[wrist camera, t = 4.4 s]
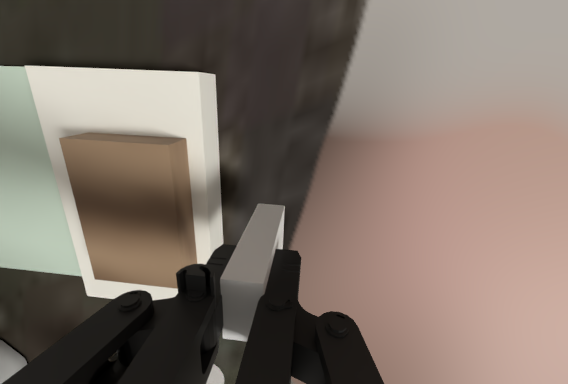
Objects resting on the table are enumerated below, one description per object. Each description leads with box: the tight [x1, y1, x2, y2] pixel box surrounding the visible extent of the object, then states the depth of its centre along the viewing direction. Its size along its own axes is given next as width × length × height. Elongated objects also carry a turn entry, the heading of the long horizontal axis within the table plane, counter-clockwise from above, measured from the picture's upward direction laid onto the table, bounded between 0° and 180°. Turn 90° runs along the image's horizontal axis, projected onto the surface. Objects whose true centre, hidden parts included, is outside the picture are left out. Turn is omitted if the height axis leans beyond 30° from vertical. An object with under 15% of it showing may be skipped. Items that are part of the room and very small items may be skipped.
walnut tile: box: [59, 132, 197, 289], centre depth 17 cm, size 9×6×2 cm, turn 178°
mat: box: [0, 66, 82, 276], centre depth 21 cm, size 16×12×1 cm
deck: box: [25, 66, 223, 300], centre depth 19 cm, size 16×10×2 cm, turn 178°
